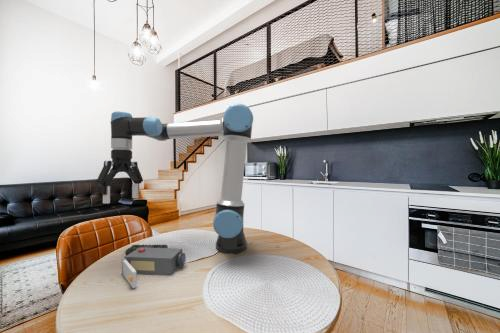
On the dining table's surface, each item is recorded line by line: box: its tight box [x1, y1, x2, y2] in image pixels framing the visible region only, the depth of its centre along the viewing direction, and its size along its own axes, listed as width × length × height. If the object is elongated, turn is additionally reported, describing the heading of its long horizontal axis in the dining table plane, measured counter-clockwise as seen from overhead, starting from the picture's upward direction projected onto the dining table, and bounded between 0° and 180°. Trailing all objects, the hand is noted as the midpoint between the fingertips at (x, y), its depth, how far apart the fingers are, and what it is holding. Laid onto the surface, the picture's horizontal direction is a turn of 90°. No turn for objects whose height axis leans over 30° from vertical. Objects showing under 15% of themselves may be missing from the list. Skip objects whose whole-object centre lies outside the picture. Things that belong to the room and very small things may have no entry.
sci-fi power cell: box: [124, 244, 169, 256], centre depth 89 cm, size 4×19×10 cm
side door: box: [121, 257, 137, 289], centre depth 69 cm, size 13×2×5 cm, turn 45°
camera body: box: [124, 247, 187, 276], centre depth 78 cm, size 20×9×7 cm, turn 85°
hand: (122, 200), depth 85 cm, fingers open, 13 cm apart
